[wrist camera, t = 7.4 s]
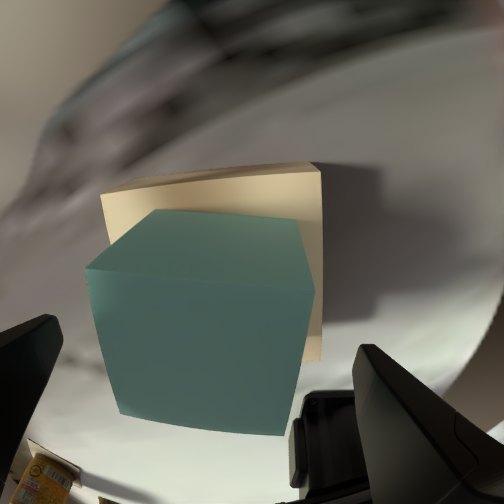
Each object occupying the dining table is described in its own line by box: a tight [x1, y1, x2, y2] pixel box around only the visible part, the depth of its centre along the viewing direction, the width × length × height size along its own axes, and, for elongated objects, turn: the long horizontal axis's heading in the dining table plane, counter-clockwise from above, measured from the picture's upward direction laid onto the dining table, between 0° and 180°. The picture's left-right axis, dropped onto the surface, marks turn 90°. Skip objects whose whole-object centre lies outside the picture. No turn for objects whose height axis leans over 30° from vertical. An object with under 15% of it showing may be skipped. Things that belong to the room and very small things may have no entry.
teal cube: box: [85, 209, 315, 436], centre depth 10 cm, size 5×5×5 cm
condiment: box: [10, 439, 80, 504], centre depth 21 cm, size 7×8×12 cm
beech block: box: [100, 162, 323, 362], centre depth 14 cm, size 8×8×4 cm
